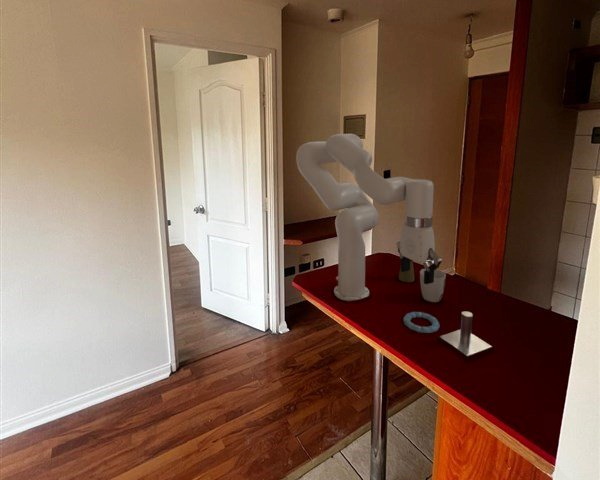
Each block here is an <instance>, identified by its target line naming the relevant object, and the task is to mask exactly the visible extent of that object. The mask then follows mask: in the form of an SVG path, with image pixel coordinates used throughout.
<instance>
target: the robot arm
mask: <svg viewBox="0 0 600 480" xmlns="http://www.w3.org/2000/svg"><path fill="white" fill-rule="evenodd" d="M295 155H296V156H295V159H296V160H295V161H296V166H297V169H298V171H299V173H300V174H301V176H302V177H303V178H304V179H305V180H306V181H307V183H308V184H309V185H310V186H311V187H312V189H313V190H314V192H315V193H316V195H317V196H318V198H319V199H320V201H321V202H322V203H323V204H324V206H325V207H326V209H328V210H329V211H332V212H337V211H340V212H339V213H337V215H336V217H335V221H334V225H335V231H336V235H337V236H336V237H337V261H338V262H337V266H338V267H337V272H338V273H337V276H336V277H335V280H336V281H337V285H336V286H335V287H334V289H333V294H334V296H335V298H337V299H339V300H341V301H345V302H353V301H357V300H362V299H365V298H368V297H369V296H370V289H368V287H366V243H365V240H364V238H363V233H366V232H367V231H370V230H371V231H372V229H373V230H374V229H375V228H376V227H377V226H378V224H379V221H380V215H379V211H378V210H377V209H376V207H375V205H374V204H373V203H372V202H371V200H373V201H375V202H376V203H378V204H380V205H383V206H384V205H385V206H388V205H392V204H394V203H400V202H403V201H405V203H404V204H405V205H404V206H405V208H404V223H403V224H402V228H401V233H400V238H399V239H400V240H399V241H397V242H396V247H397V252H398V254H399V259H400V267H401V271H402V272H405V271H409V270H410V259H411V260H413V262H415V263H417V264H421V265H422V264H423V267H424V269H426V271H424V284H430V283H433V282H434V270H436V269H438V268H440V265H441V264H442V262H443V259H442V258H441V257H440V255H439V254H437V253H436V242H435V231H434V228H433V214H434V213H433V212H434V189H435V188H434V187H435V186H434V182H433V181H432V180H430V179H424V178H410V177H406V176H394V177H388V178H384V177H382V176H381V175H380V174H379V173H377V172H376V171H374V169H372V167H371V165H372V163H373V162H372V161H373V156H372V154H371V153H370V152H369V151H367V150H366V149H364V144H363V140H362V139H361V138H360V137H359V136H358V135H357V134H354V133H337V134H333V135H331V136H329V138H328V139H327V140H326V141H309V142H305V143H303V144H301V145H300V146H299V147H298V149H297V151H296V154H295ZM337 162H338V163H339V164H340V165H341V166H343V167H344V168H345V169H346V170H348V171H349V172H350V173H351V174H353V178H354V181H355V182H356V184H355V183H353V182H342V183H340V182H338V181H337V180H336V179H335V177H334V176H333V174H332V173H331V172H330V171H328V170H327V169H326V168H325V167H323V166H322V165H323V164H324V165H325V164H332V163H337ZM368 197H369V198H370V199H371V200H370V199H369V198H368Z"/></svg>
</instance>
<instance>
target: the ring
mask: <svg viewBox="0 0 600 480" xmlns="http://www.w3.org/2000/svg"><path fill="white" fill-rule="evenodd" d="M414 318H422V319H425V320H428V321H429V322H430V324H431V325H429V326H421V325H417V324H415V323H413V322H412V321H411V320H412V319H414ZM402 321H403V324H404V325H405V327H407V328H408V329H410V330H412V331H415V332H416V333H420V334H421V333H422V334H432V333H435V332H437V331H439V329H440V327H441V324H440V322H439V321H438V318H436V317H435V316H433V315H432V314H429V313H426V312H423V311H411V312H408V313H406V314H405V315H404V317H403V318H402Z"/></svg>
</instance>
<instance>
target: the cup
mask: <svg viewBox="0 0 600 480" xmlns="http://www.w3.org/2000/svg"><path fill="white" fill-rule="evenodd" d="M424 271H426V269H425V268H421V270H420V271H419V282H420V290H421V295H422V298H423V299H424V300H425V301H426V302H430V303H439V302H440V301H441V300H442V298H443V294H444V290H445V286H446V277H447V274H446V273H445V272H444V271H442V270H440V269H438V268H437V269H436V270H434V282H433V283H430V284H424Z"/></svg>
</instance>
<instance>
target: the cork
mask: <svg viewBox="0 0 600 480" xmlns="http://www.w3.org/2000/svg"><path fill="white" fill-rule="evenodd" d="M413 262H414V261H413V260H411V259H410V270H409V271H405V272H402V271H401V266H400V268H399V273H398V280H399V281H401V282H403V283H413V282H414V281H415V280H416V279H415V272H414V271H415V270H414V263H413Z"/></svg>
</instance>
